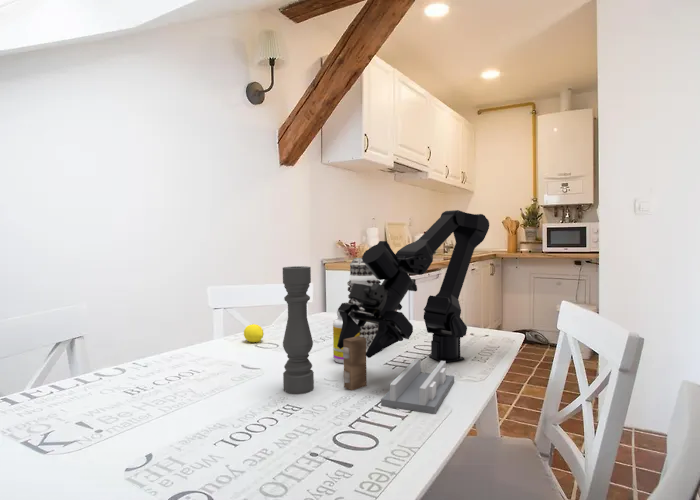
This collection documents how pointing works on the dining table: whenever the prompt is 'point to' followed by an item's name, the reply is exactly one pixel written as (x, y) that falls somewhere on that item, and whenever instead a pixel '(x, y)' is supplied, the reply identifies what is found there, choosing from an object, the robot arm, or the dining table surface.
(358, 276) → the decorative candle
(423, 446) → the dining table surface
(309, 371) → the candle holder
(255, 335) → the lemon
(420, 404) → the grey long channel piece
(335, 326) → the supplement bottle
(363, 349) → the brown wooden block
